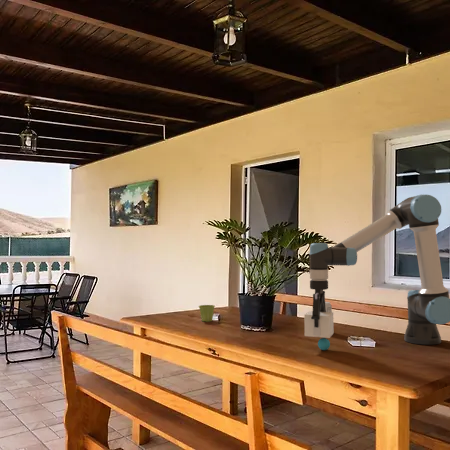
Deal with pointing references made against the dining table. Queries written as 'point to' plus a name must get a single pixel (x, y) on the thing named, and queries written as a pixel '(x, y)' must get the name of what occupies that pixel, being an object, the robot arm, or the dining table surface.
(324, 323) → the off-white square block
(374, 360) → the dining table surface
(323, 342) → the ball
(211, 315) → the plant pot
